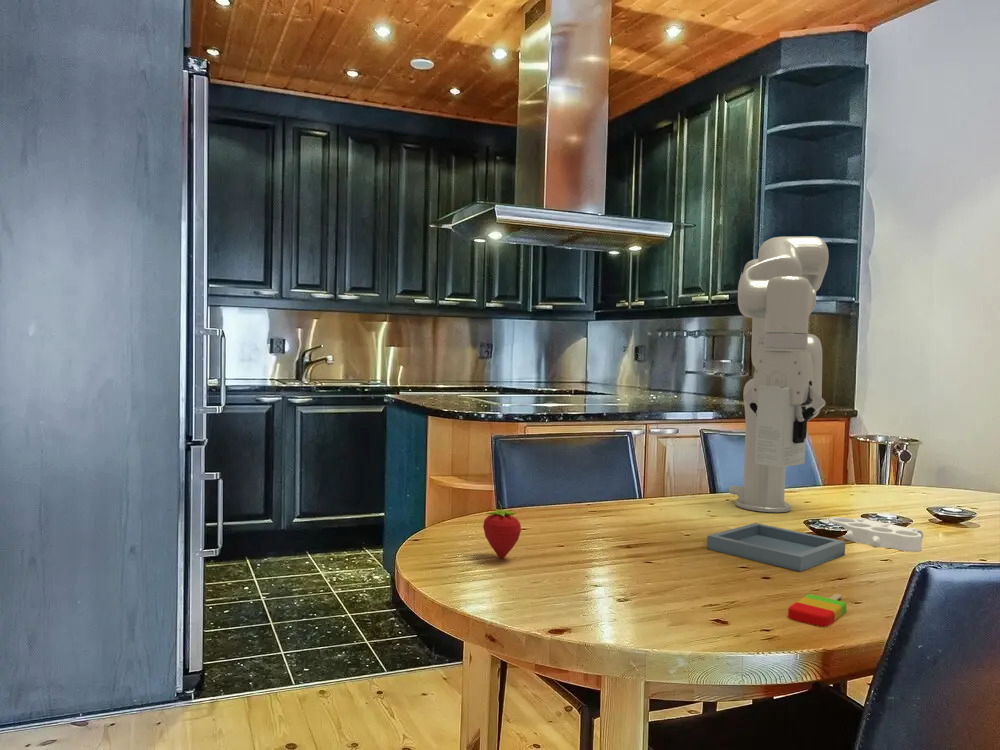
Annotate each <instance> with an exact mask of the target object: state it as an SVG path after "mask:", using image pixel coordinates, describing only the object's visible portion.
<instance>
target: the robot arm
mask: <svg viewBox="0 0 1000 750" xmlns="http://www.w3.org/2000/svg"><path fill="white" fill-rule="evenodd" d="M829 255H830V254H829V248H828V246H827V243H826V241H825V240H824V239H822V238H820V237H819V236H807V235H805V236H803V235H802V236H776V237H770V238H769V239H767V240H765V241H764V242H763V243H762V244H761V245H760V247H759V249H758V254H757V256H758V257H757V258H755V259H751V260H749V261H748V262H746V264H745V265H744V267H743V272H742V274H741V276H740V278H739V280H738V286H737V305H738V310H739V312H740V313H741V315H743V316H744V317H746V318H749V319H752V322H751V323H752V325H751V346H750V347H751V349H750V351H751V352H750V353H751V355H750V356H751V363H752V366H753V367H754V372H753V378H751V379H749V380H748V381H747V382H746V383H745V384H744V387H743V394H742V395H743V397H742V398H743V404H744V405H743V406H744V416H745V417H744V418H745V429H744V430H745V432H744V433H745V437H744V438H745V439H744V458H743V478H742V479H743V481H742V482H743V483H742V485H740V486H739V485H738V486H737V485H732V484H731V485H730V486H729V490H728V493H729V494H731V495H737V496H738V498H737V499H736V500H735V505H736V506H737V507H739V508H741V509H743V510H747V511H753V512H761V513H786V512H787V513H788V512H790V511H791V508H792V506H791V504H790V503H788V502H785V492H786V491H785V490H786V472H787V471H786V469H787V467H783V468H780V467H773V466H768V465H762V464H756V463H755V443H756V424H757V407H758V386H780V387H789V388H790V405H791V406H795V407H794V411H795V414H796V417H797V421H795V422H794V428H793V442H794V443H804V439H805V438H806V439H807V434H808V433H807V429H808V427H807V426H808V422H809V421H810V420H811V419H814V418H815V417H817V416H818V415H819V414H820V411H821V409H823V407H825V406H826V403H827V402H826V400H825V399H824V398H823V397H822V393H823V391H822V390H823V388H822V386H823V347H822V343H821V340H820V338H819V337H818V336H816V335H815V334H814V333H813V334H812V333H809V322H810V321H809V320H810V319H809V318H810V315H811V314H812V312H813V311H814V310H815V309H816V304H817V291H819V289H820V287H821V286H822V283H823V280H824V277H825V275H826V272H827V270H828V265H829ZM806 405H808V406H807V407H806Z"/></svg>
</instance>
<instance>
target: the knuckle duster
mask: <svg viewBox="0 0 1000 750" xmlns="http://www.w3.org/2000/svg"><path fill="white" fill-rule="evenodd" d="M829 523H832V524H837V525H841V526H843V527H844V528H845V529H847V530H848V531H847V533H846V534H845V535H843V536H842V537H841V538H843V539H845V540H847V541H850V542H854V543H861V544H865V545H869V546H872V547H879V548H886V549H887V548H888V549H894V550H899V551H901V552H903V551H904V552H912V553H913V552H916V553H917V552H920V551H922V541H923V539H924V532H923V531H922V530H920V529H919V528H917V527H916V528H915V527H911V528H910V527H906V526H902V525H896V524H893V523H891V522H881V521H878V520H876V521H875V520H872V519H869V518H865V517H859V518H849V517H841V516H840V517H839V516H836V517H835V516H834V517H830V518H829V519H828V524H829Z"/></svg>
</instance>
